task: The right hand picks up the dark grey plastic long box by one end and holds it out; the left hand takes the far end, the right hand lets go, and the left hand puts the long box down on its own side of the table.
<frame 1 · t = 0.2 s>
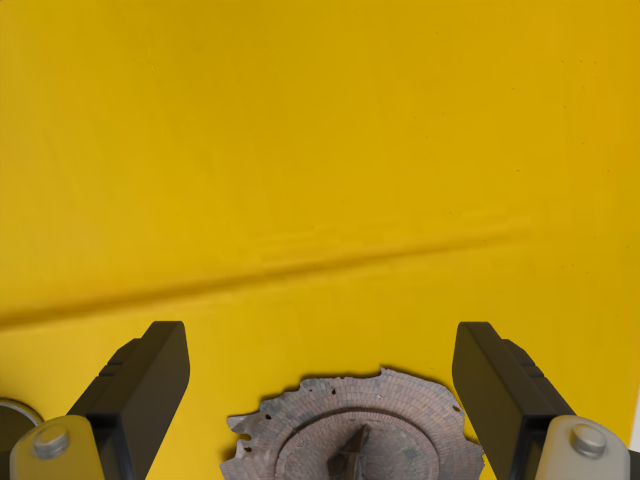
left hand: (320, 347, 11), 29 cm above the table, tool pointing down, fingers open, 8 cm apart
stone sculpture: (349, 464, 52), on the table
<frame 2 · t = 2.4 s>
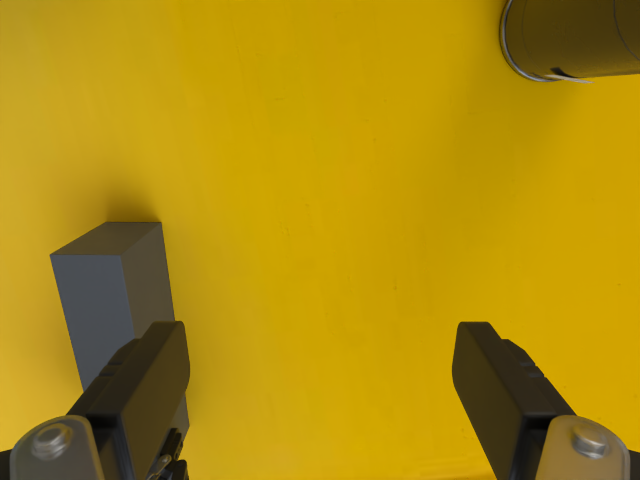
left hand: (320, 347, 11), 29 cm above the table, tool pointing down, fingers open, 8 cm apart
long box: (151, 334, 45), on the table, touching right hand
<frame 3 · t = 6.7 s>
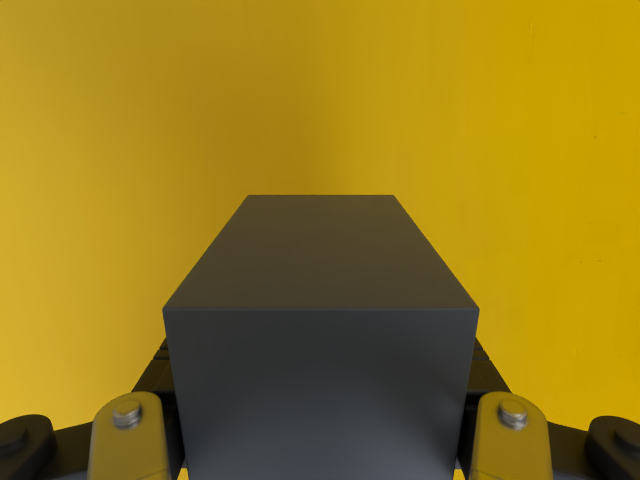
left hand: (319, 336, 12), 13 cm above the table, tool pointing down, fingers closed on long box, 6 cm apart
long box: (320, 454, 20), point 8 cm above the table, touching left hand, right hand
when the right hand's fingers open (13 cm above the table, at t = 7.9 s): long box stays where it is, held by the left hand.
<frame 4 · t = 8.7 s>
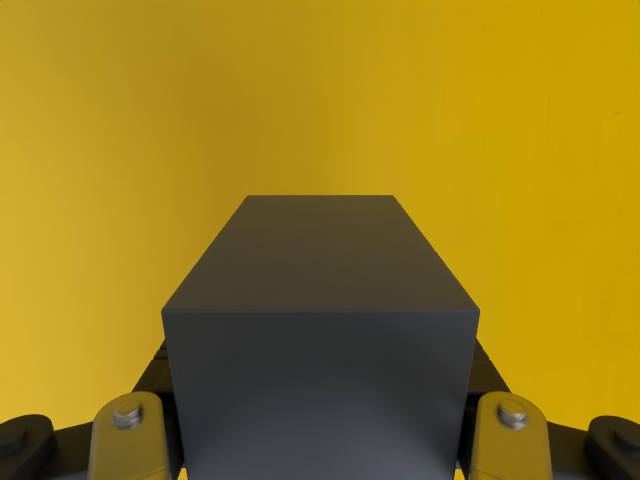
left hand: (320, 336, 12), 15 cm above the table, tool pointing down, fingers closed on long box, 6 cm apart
long box: (320, 454, 20), point 11 cm above the table, touching left hand
when the left hand's fingers open (6 cm above the table, at t = 12.8 s): long box drops 1 cm, on the table.
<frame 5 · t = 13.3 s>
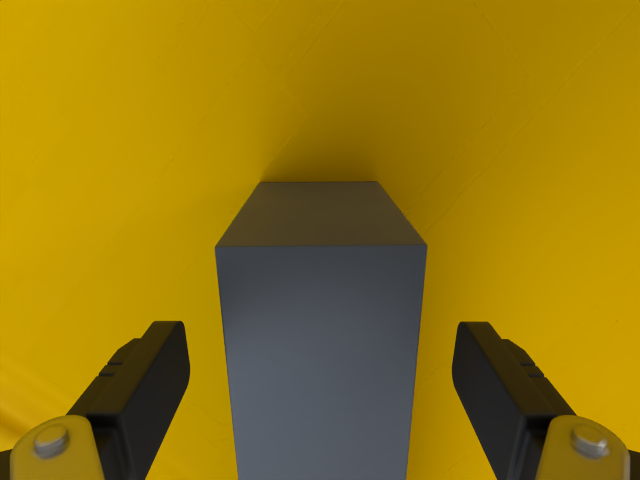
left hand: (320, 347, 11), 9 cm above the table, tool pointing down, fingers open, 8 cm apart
long box: (320, 406, 24), on the table
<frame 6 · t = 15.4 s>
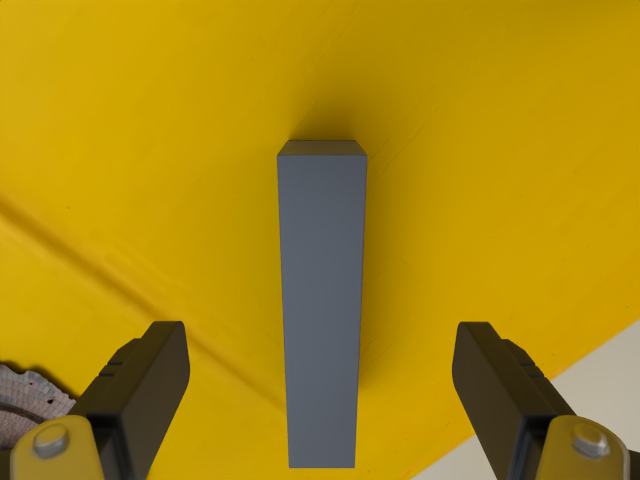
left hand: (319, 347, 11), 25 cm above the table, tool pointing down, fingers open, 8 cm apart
long box: (321, 283, 38), on the table
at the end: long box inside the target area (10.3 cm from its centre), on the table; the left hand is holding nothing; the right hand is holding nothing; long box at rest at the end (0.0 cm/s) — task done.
